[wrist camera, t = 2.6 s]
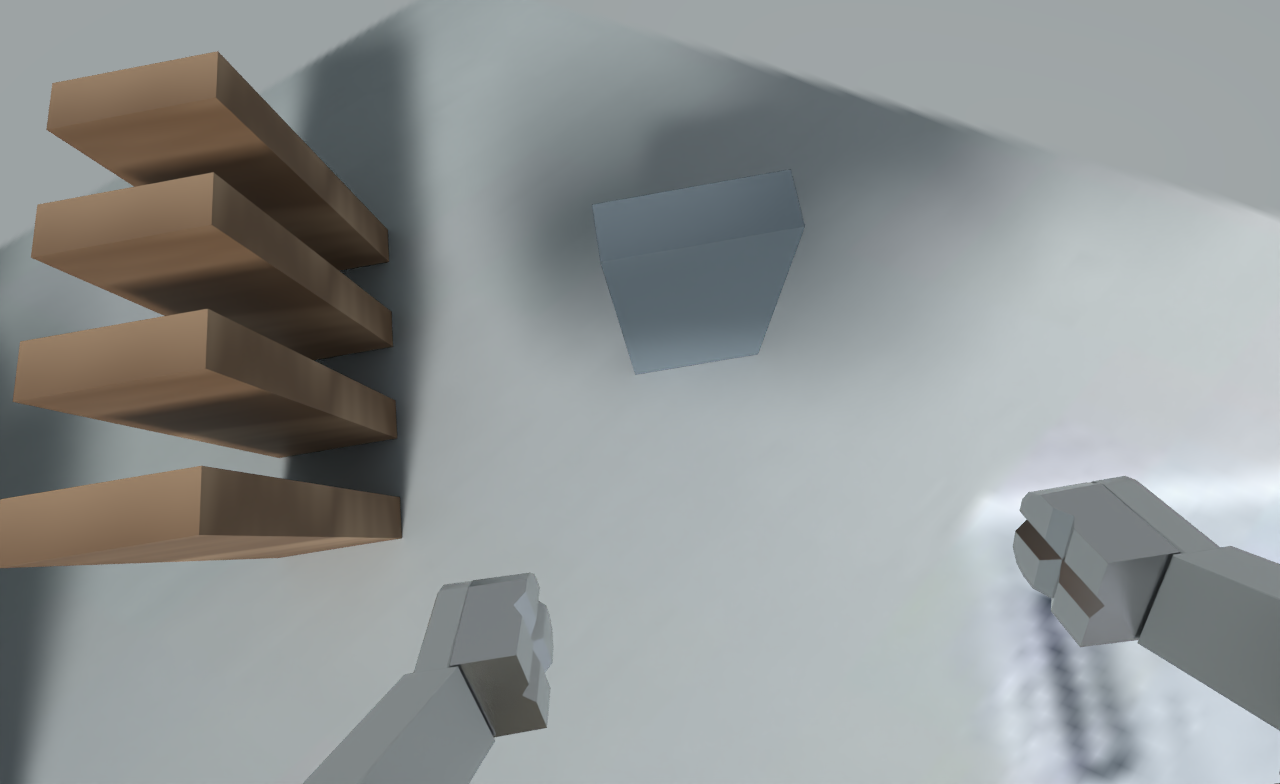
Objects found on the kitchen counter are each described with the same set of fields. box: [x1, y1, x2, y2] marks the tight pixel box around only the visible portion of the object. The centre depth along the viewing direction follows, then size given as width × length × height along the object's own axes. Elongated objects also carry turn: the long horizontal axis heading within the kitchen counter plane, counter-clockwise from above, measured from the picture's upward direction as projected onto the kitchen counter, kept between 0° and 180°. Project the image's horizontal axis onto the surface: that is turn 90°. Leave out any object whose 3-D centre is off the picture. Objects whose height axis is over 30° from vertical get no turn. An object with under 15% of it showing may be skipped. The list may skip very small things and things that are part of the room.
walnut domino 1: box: [47, 52, 389, 271], centre depth 22 cm, size 2×5×10 cm, turn 99°
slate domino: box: [592, 169, 805, 375], centre depth 19 cm, size 2×5×10 cm, turn 99°
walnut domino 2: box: [31, 172, 393, 360], centre depth 21 cm, size 2×5×10 cm, turn 99°
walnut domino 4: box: [0, 466, 402, 568], centre depth 19 cm, size 2×5×10 cm, turn 99°
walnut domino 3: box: [13, 309, 397, 458], centre depth 20 cm, size 2×5×10 cm, turn 99°
